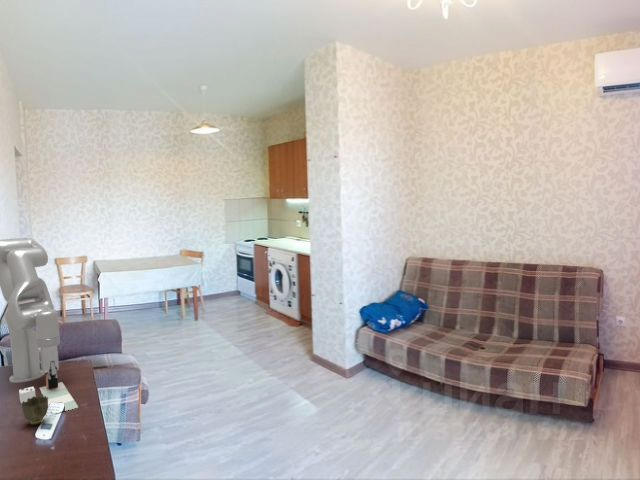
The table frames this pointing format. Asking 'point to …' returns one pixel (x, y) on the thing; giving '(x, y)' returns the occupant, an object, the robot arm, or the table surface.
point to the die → (26, 394)
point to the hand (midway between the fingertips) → (52, 385)
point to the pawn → (47, 382)
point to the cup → (35, 409)
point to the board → (59, 396)
